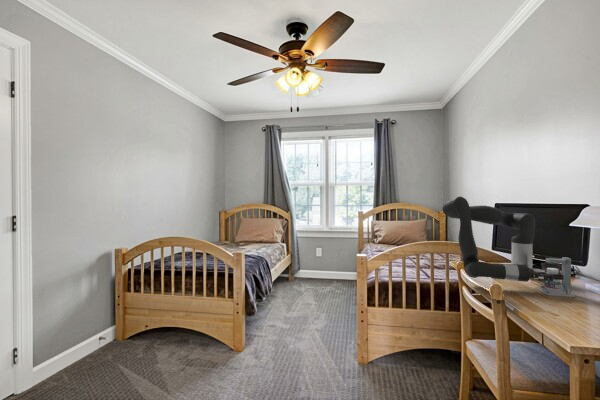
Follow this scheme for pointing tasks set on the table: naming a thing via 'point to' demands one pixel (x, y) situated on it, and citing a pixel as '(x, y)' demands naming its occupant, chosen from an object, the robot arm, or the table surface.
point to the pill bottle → (555, 283)
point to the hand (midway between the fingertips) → (559, 275)
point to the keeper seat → (566, 282)
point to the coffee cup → (550, 266)
